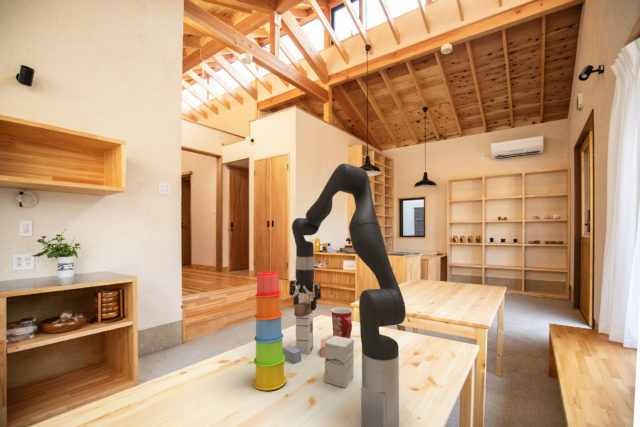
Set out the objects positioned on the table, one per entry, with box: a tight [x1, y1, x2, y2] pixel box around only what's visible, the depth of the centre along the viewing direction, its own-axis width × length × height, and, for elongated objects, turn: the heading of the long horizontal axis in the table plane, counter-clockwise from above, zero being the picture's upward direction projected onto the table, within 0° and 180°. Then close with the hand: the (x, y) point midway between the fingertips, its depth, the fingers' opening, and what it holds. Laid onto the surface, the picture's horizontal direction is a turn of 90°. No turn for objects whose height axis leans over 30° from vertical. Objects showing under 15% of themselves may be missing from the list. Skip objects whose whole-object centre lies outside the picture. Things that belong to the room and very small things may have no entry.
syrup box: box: [295, 312, 314, 355], centre depth 117 cm, size 6×6×14 cm
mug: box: [331, 307, 353, 339], centre depth 124 cm, size 13×9×14 cm
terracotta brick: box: [320, 339, 329, 358], centre depth 114 cm, size 7×4×4 cm, turn 1°
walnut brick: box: [293, 301, 313, 317], centre depth 116 cm, size 7×4×4 cm, turn 145°
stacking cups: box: [253, 270, 288, 392], centre depth 93 cm, size 10×10×35 cm
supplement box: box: [324, 336, 355, 389], centre depth 94 cm, size 7×7×13 cm
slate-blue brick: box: [283, 344, 302, 365], centre depth 108 cm, size 7×4×4 cm, turn 46°
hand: (304, 308), depth 117 cm, fingers open, 8 cm apart
